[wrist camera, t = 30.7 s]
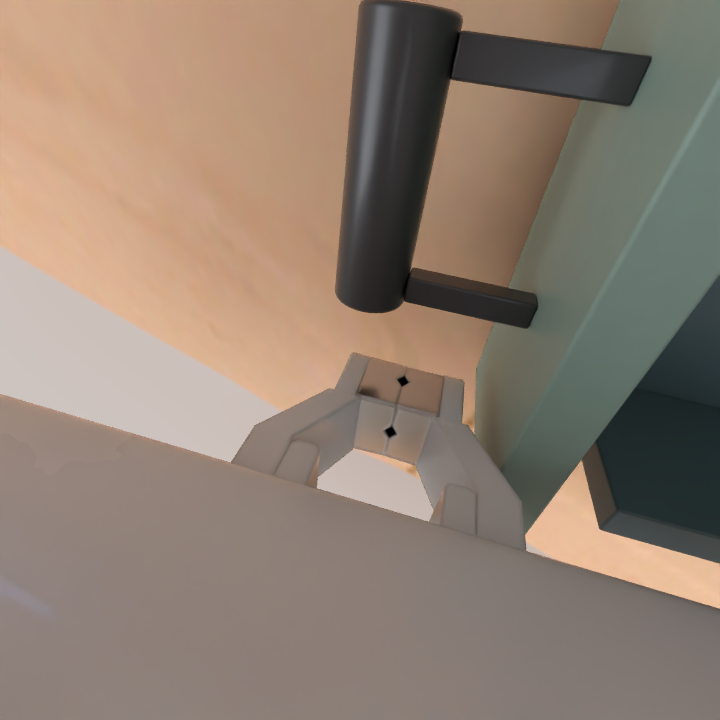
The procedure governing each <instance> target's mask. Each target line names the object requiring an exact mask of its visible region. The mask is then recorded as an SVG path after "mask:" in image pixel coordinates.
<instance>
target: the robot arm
mask: <svg viewBox="0 0 720 720" xmlns="http://www.w3.org/2000/svg"><path fill="white" fill-rule="evenodd" d="M463 398H464V381H463V380H462V379H457V378H453V377H448V376H441V375H437V374H433V373H429V372H425V371H421V370H417V369H413V368H409V367H406V366H402V365H398V364H395V363H391V362H387V361H384V360H380V359H377V358H373V357H369V356H365V355H361V354H357V353H352V354H351V355H350V357H349V359H348V361H347V364H346V366H345V368H344V370H343V372H342V374H341V376H340V379H339V381H338V383H337V385H336V387H335V389H334V390H333V389H327V390H325V391H323V392H321V393H319V394H317V395H315V396H313V397H311V398H309V399H307V400H305V401H303V402H301V403H299V404H297V405H295V406H293V407H291V408H289V409H287V410H285V411H283V412H281V413H279V414H277V415H275V416H273V417H271V418H269V419H267V420H265V421H263V422H261V423H259V424H257V425H255V426H254V428H253V429H252V431H251V432H250V434H249V435H248V437H247V438H246V440H245V442H244V443H243V445H242V446H241V448H240V449H239V451H238V452H237V454H236V455H235V457H234V459H233V460H232V461H231V463H230V462H227V461H223V460H220V459H217V458H213V457H210V456H206V455H203V454H200V453H197V452H193V451H190V450H187V449H183V448H180V447H177V446H173V445H170V444H167V443H163V442H160V441H156V440H153V439H150V438H146V437H143V436H140V435H136V434H133V433H130V432H126V431H123V430H120V429H116V428H113V427H110V426H106V425H103V424H99V423H96V422H93V421H89V420H86V419H83V418H80V417H76V416H73V415H69V414H66V413H63V412H59V411H56V410H53V409H49V408H46V407H43V406H39V405H36V404H33V403H29V402H26V401H22V400H19V399H16V398H12V397H9V396H5V395H2V394H0V720H720V609H719V608H715V607H712V606H709V605H705V604H702V603H698V602H695V601H692V600H688V599H685V598H682V597H678V596H675V595H672V594H668V593H665V592H662V591H658V590H655V589H652V588H648V587H645V586H642V585H638V584H635V583H632V582H628V581H625V580H621V579H618V578H615V577H611V576H608V575H605V574H601V573H598V572H595V571H591V570H588V569H585V568H581V567H578V566H575V565H571V564H568V563H565V562H561V561H558V560H555V559H551V558H548V557H545V556H541V555H538V554H535V553H531V552H528V551H526V541H525V529H524V518H523V507H522V501H521V500H520V498H519V497H518V496H517V494H516V493H515V491H514V490H513V488H512V487H511V486H510V484H509V483H508V481H507V480H506V479H505V477H504V476H503V474H502V473H501V471H500V470H499V469H498V467H497V466H496V464H495V463H494V462H493V460H492V459H491V457H490V456H489V455H488V453H487V452H486V450H485V449H484V447H483V446H482V445H481V443H480V442H479V440H478V439H477V438H476V436H475V435H474V433H473V432H472V430H471V429H470V428H469V426H468V425H465V424H462V416H463ZM353 448H356V449H360V450H364V451H368V452H372V453H376V454H380V455H384V456H387V457H390V458H394V459H397V460H400V461H403V462H407V463H410V464H413V465H416V468H417V471H418V473H419V476H420V478H421V481H422V483H423V486H424V488H425V490H426V493H427V495H428V498H429V500H430V503H431V505H432V507H433V510H434V511H433V514H432V516H431V519H430V521H429V522H428V521H424V520H421V519H418V518H414V517H411V516H407V515H404V514H401V513H397V512H394V511H391V510H387V509H384V508H380V507H377V506H374V505H371V504H367V503H364V502H361V501H357V500H354V499H351V498H347V497H344V496H341V495H337V494H333V493H331V492H327V491H324V490H321V489H317V480H318V479H317V478H318V476H320V475H321V474H322V473H324V472H325V471H326V470H327V469H329V468H330V467H331V466H332V465H334V464H335V463H336V462H338V461H339V460H340V459H341V458H343V457H344V456H345V455H346V454H347V453H349V452H350V451H351V450H353Z"/></svg>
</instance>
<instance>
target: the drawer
mask: <svg viewBox="0 0 720 720" xmlns="http://www.w3.org/2000/svg"><path fill="white" fill-rule="evenodd" d="M462 23H463V19H462V15H461V14H459V13H458V12H456V11H454V10H450V9H447V8H443V7H438V6H433V5H428V4H422V3H416V2H409V1H402V0H362V1H361V3H360V5H359V12H358V24H357V36H356V48H355V60H354V72H353V83H352V95H351V107H350V119H349V131H348V143H347V155H346V166H345V178H344V190H343V202H342V214H341V226H340V238H339V249H338V261H337V273H336V285H335V292H336V295H337V297H338V299H339V300H340V301H341V302H342V303H343V304H345V305H346V306H348V307H350V308H352V309H355V310H358V311H362V312H368V313H385V312H390V311H393V310H395V309H397V308H399V307H400V306H401V304H402V303H403V301H405V302H409V303H413V304H417V305H422V306H426V307H431V308H435V309H440V310H444V311H448V312H453V313H457V314H462V315H466V316H471V317H475V318H479V319H484V320H488V321H493V322H494V325H493V327H492V330H491V332H490V335H489V337H488V340H487V343H486V345H485V348H484V350H483V353H482V355H481V358H480V361H479V363H478V366H477V368H476V396H475V436H476V438H477V439H478V440H479V442H480V443H481V445H482V446H483V447H484V449H485V450H486V452H487V453H488V455H489V456H490V457H491V459H492V460H493V462H494V463H495V464H496V466H497V467H498V469H499V470H500V471H501V473H502V474H503V476H504V477H505V479H506V480H507V481H508V483H509V484H510V486H511V487H512V488H513V490H514V491H515V493H516V494H517V496H518V497H519V498H520V500H521V501H522V507H523V518H524V529H525V534H526V533H527V532H528V530H529V529H530V528H531V526H532V525H533V524H534V522H535V521H536V520H537V518H538V517H539V516H540V514H541V513H542V512H543V510H544V509H545V508H546V506H547V505H548V504H549V502H550V501H551V500H552V498H553V497H554V496H555V494H556V493H557V492H558V490H559V489H560V488H561V486H562V485H563V484H564V482H565V481H566V480H567V478H568V477H569V476H570V474H571V473H572V471H573V470H574V469H575V467H576V466H577V465H578V463H579V462H580V461H581V459H582V462H583V466H584V470H585V474H586V478H587V482H588V486H589V490H590V494H591V498H592V502H593V506H594V510H595V514H596V518H597V522H598V526H599V529H600V530H602V531H606V532H610V533H613V534H617V535H620V536H624V537H627V538H631V539H634V540H638V541H642V542H645V543H649V544H652V545H656V546H659V547H663V548H666V549H670V550H673V551H677V552H681V553H684V554H688V555H691V556H695V557H698V558H702V559H705V560H709V561H713V562H716V563H720V0H620V2H619V4H618V7H617V9H616V12H615V15H614V17H613V20H612V22H611V25H610V27H609V30H608V33H607V35H606V38H605V40H604V43H603V45H602V48H601V49H595V48H588V47H581V46H573V45H566V44H559V43H551V42H544V41H537V40H529V39H522V38H515V37H507V36H500V35H493V34H485V33H478V32H471V31H461V28H462ZM451 79H452V80H455V81H462V82H468V83H475V84H481V85H488V86H495V87H501V88H508V89H514V90H521V91H527V92H534V93H540V94H547V95H554V96H560V97H567V98H573V99H580V100H581V102H580V104H579V107H578V109H577V112H576V115H575V117H574V120H573V122H572V125H571V127H570V130H569V132H568V135H567V138H566V140H565V143H564V145H563V148H562V150H561V153H560V156H559V158H558V161H557V163H556V166H555V168H554V171H553V173H552V176H551V179H550V181H549V184H548V186H547V189H546V191H545V194H544V197H543V199H542V202H541V204H540V207H539V209H538V212H537V214H536V217H535V220H534V222H533V225H532V227H531V230H530V232H529V235H528V238H527V240H526V243H525V245H524V248H523V250H522V253H521V255H520V258H519V261H518V263H517V266H516V268H515V271H514V273H513V276H512V279H511V281H510V284H509V286H508V288H506V287H502V286H497V285H492V284H488V283H483V282H478V281H474V280H469V279H464V278H460V277H455V276H450V275H446V274H441V273H436V272H432V271H427V270H422V269H418V268H412V269H411V265H412V260H413V255H414V251H415V246H416V241H417V236H418V232H419V227H420V222H421V217H422V213H423V208H424V203H425V198H426V194H427V189H428V184H429V179H430V175H431V170H432V165H433V160H434V156H435V151H436V146H437V141H438V137H439V132H440V127H441V122H442V118H443V113H444V108H445V104H446V99H447V94H448V89H449V85H450V80H451ZM410 270H411V271H410Z"/></svg>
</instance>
